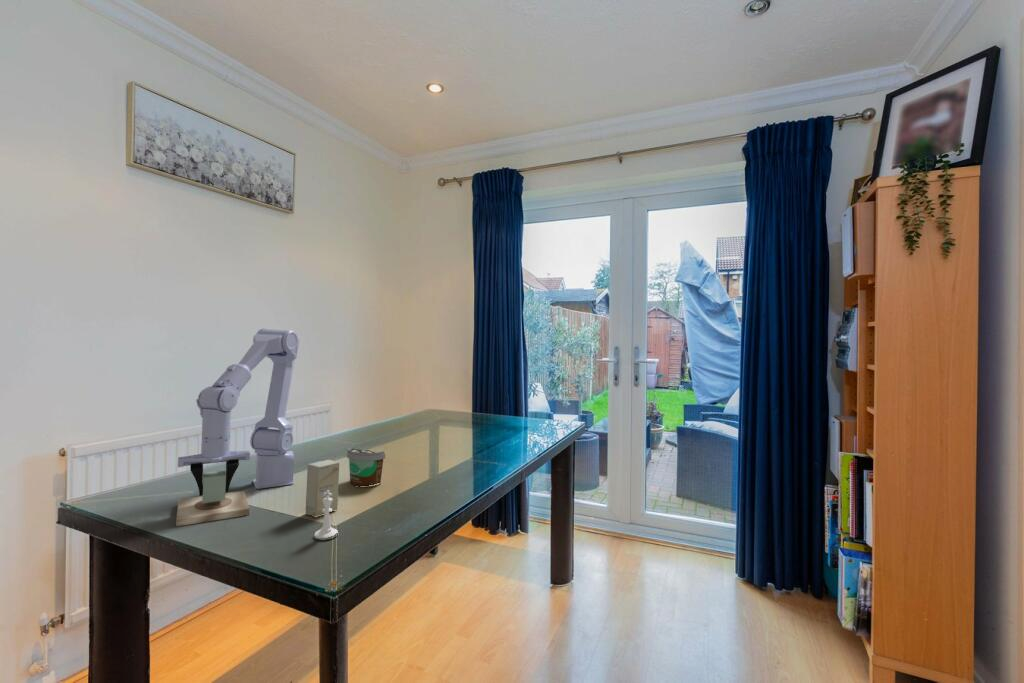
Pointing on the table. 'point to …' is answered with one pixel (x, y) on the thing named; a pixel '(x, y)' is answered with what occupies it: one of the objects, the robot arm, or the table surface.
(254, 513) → the table surface
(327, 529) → the chess piece
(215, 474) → the green block
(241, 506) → the display base
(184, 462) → the robot arm
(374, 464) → the food container
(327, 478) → the skincare box
